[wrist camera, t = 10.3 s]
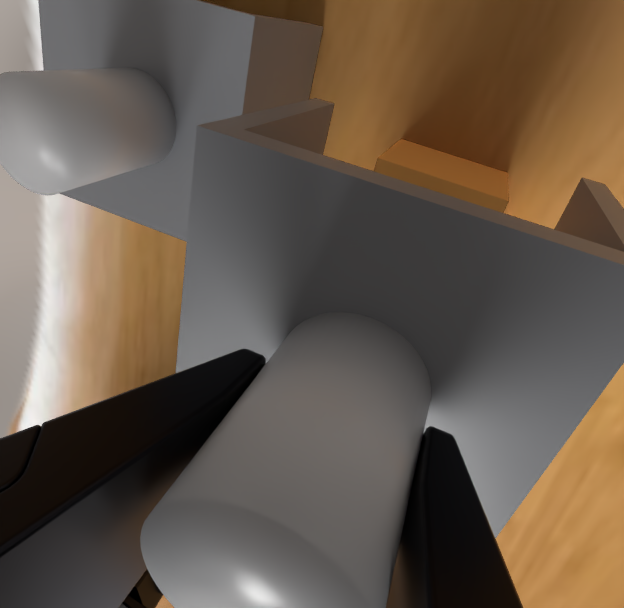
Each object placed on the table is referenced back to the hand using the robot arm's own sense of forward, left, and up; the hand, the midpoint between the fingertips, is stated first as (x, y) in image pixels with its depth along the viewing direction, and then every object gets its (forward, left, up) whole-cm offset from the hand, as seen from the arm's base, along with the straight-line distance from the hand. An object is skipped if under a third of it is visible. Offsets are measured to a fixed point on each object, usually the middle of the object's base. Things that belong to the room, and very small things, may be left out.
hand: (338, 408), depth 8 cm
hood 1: (-8, +4, -12) cm, 16 cm away
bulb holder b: (0, 0, -6) cm, 6 cm away
